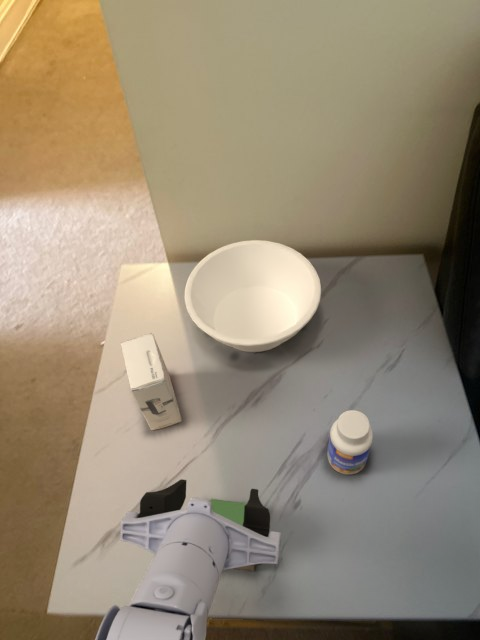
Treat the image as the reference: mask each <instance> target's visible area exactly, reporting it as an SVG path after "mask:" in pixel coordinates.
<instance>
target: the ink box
mask: <svg viewBox="0 0 480 640" xmlns="http://www.w3.org/2000/svg"><path fill="white" fill-rule="evenodd" d="M120 347H121V351H122V356H123V360H124V365H125V369H126V374H127V379H128V383H129V388H130V391H131V394H132V395H133V397H134V400H135V401H136V403H137V405H138V407H139V409H140V411H141V414H142V415H143V417H144V419H145V421H146V423H147V425H148V427H149V429H150V431H155V430H159V429H163V428H167V427H170V426H174V425H176V424H178V423H181V422H182V421H183V419H182V415H181V412H180V411H181V410H180V408H179V404H178V401H177V398H176V397H177V396H176V394H175V390H174V386H173V383H172V379H171V376H170V373H169V370H168V368H167V365H166V363H165V360H164V357H163V354H162V353H161V350H160V348H159V344H158V343H157V340H156V337H155V335H154V334H153V333H152V332H149V333H147V334H143V335H140V336H137V337H133V338H130V339H127V340H124V341H122V342H120Z"/></svg>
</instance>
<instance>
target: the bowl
mask: <svg viewBox="0 0 480 640" xmlns="http://www.w3.org/2000/svg"><path fill="white" fill-rule="evenodd" d="M321 296H322V285H321V280H320V277H319V275H318V272H317V269H316V268H315V267H314V266H313V264H312V263H311V262H310V260H309V259H308V258H306V257H305V256H304V255H303V254H302V253H301V252H299V251H297V250H296V249H294V248H292V247H290V246H287V245H285V244H282V243H279V242H275V241H270V240H258V239H254V240H253V239H252V240H242V241H237V242H233V243H229V244H227V245H224V246H222V247H218V248H217V249H216V250H214V251H213V250H212V251H211V252H210V253H208V254H207V255H206V256H205V257H203V258H202V259H201V260H200V261H199V262H198V263H197V264H196V265H195V267H194V268H193V269H192V271H191V273H190V274H189V276H188V278H187V281H186V284H185V287H184V304H185V307H186V311H187V313H188V315H189V316H190V319H191V320H192V321H193V323H195V325H196V326H197V327H198V328H199V329H200V330H201V331H202V332H204V333H205V334H206V335H208V336H209V337H211V338H212V339H214V340H215V341H216V342H219V343H220V344H223V345H225V346H227V347H230V348H233V349H235V350H238V351H241V352H245V353H246V352H247V353H260V352H265V351H270V350H272V349H274V348H277V347H278V346H280V345H282V344H283V343H285V342H287V341H289V340H290V339H292V338H293V337H295V336H296V335H297V334H298V333H299V332H300V331H301V330H302V329H303V328H304V327H305V326H306V325H307V324H308V323H309V322H310V321H311V320H312V318H313V316H314V315H315V313H316V312H317V310H318V307H319V304H320V302H321V299H322V298H321Z"/></svg>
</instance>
